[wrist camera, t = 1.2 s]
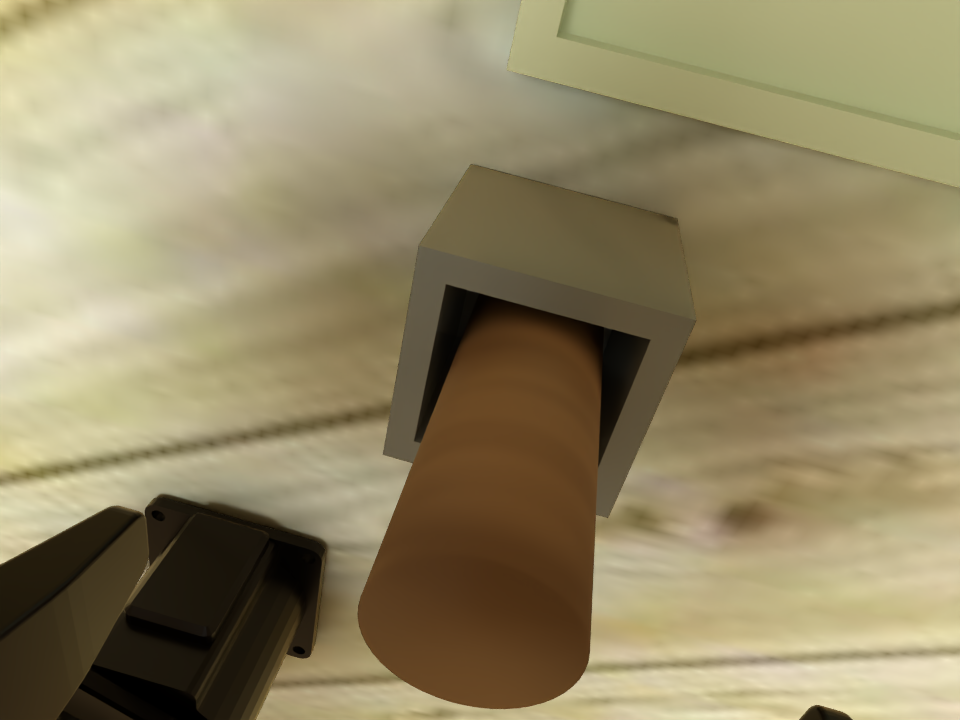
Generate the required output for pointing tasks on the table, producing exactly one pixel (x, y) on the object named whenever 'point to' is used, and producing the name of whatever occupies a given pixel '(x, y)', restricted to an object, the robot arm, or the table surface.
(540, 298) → the pen cup
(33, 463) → the table surface
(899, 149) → the tray
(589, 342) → the dowel
